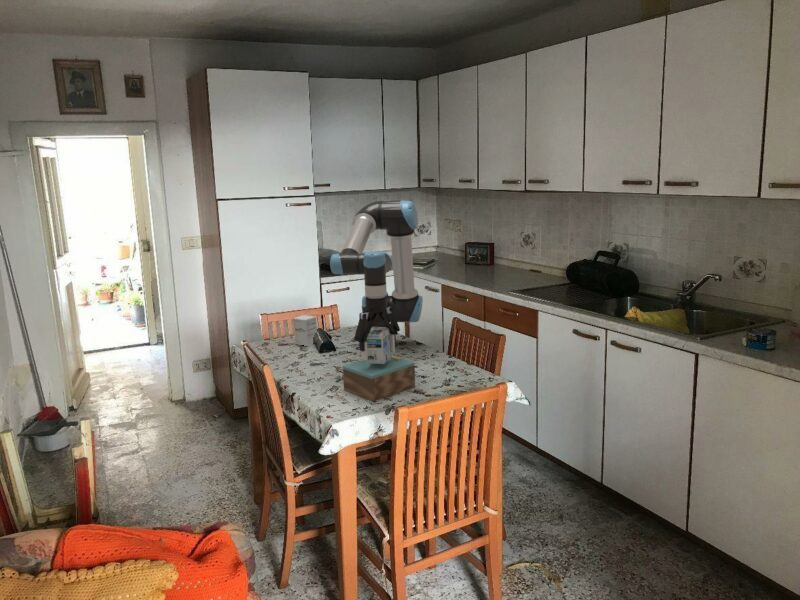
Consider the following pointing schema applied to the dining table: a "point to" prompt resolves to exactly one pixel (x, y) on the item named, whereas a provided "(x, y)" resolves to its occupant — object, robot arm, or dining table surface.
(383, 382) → the walnut chest
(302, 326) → the supplement box
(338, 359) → the dining table surface
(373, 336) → the light bulb box
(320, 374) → the dining table surface
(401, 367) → the chest lid
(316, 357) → the dining table surface
